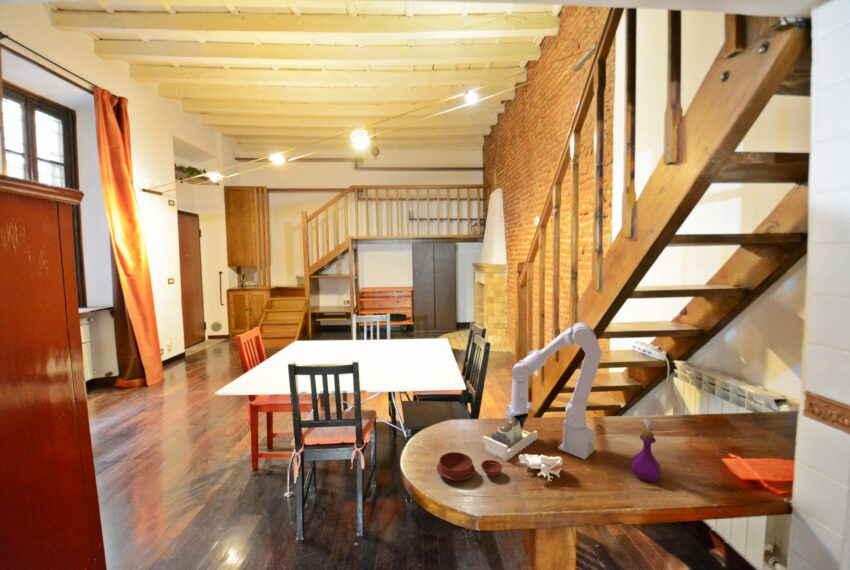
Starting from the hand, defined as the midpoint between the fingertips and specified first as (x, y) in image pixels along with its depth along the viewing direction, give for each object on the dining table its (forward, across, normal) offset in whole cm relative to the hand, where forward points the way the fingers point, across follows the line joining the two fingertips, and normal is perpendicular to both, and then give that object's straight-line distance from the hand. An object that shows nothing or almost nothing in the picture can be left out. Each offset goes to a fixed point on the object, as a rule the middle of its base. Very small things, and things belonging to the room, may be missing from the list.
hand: (518, 432), depth 134 cm
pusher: (+1, +12, 0) cm, 12 cm away
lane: (+2, +5, 0) cm, 6 cm away
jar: (+1, +2, 0) cm, 3 cm away
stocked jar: (+1, +7, 0) cm, 7 cm away
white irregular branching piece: (+3, +13, +16) cm, 21 cm away
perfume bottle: (+2, -8, +39) cm, 40 cm away
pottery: (+3, +30, +1) cm, 30 cm away
